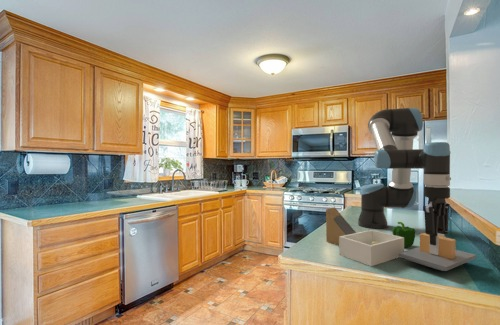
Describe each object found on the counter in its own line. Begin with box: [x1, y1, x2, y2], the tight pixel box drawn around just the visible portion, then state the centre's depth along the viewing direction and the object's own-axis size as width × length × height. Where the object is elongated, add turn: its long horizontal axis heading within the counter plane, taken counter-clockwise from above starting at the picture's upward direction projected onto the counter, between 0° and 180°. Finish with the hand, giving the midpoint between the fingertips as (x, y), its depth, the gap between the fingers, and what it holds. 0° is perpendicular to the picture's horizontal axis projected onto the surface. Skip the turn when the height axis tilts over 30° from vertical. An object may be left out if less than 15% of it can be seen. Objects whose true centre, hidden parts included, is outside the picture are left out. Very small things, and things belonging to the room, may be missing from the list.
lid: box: [399, 232, 478, 272], centre depth 95 cm, size 21×15×8 cm
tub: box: [338, 229, 405, 267], centre depth 105 cm, size 20×14×7 cm
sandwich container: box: [325, 206, 357, 246], centre depth 120 cm, size 9×15×15 cm, turn 46°
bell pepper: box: [391, 221, 416, 248], centre depth 116 cm, size 8×8×10 cm
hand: (437, 252), depth 95 cm, fingers closed on lid, 3 cm apart
